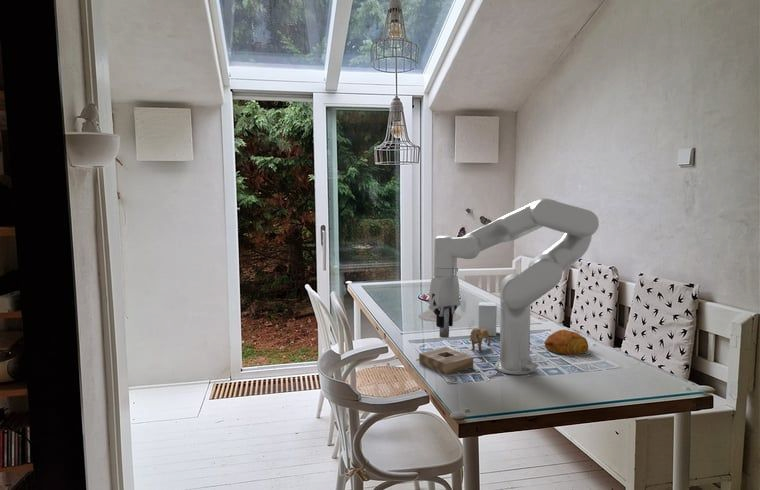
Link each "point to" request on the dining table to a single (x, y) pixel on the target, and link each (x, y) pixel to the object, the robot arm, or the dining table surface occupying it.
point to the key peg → (445, 323)
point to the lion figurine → (479, 337)
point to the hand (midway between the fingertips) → (444, 325)
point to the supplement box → (487, 317)
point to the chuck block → (446, 360)
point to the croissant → (566, 343)
